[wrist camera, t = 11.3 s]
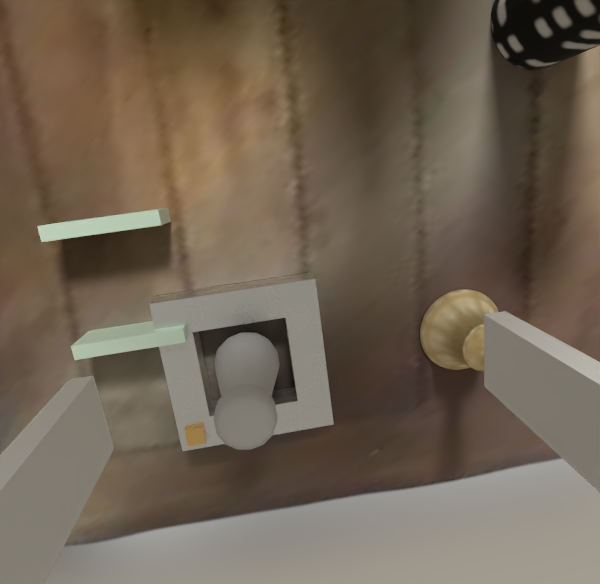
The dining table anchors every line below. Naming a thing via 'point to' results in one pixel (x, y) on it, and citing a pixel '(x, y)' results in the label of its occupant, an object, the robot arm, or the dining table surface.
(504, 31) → the white-spotted black cylinder
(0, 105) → the dining table surface
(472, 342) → the hand bell
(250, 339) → the salt shaker
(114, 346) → the pale green rectangular blocks
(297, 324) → the socket
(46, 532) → the robot arm
